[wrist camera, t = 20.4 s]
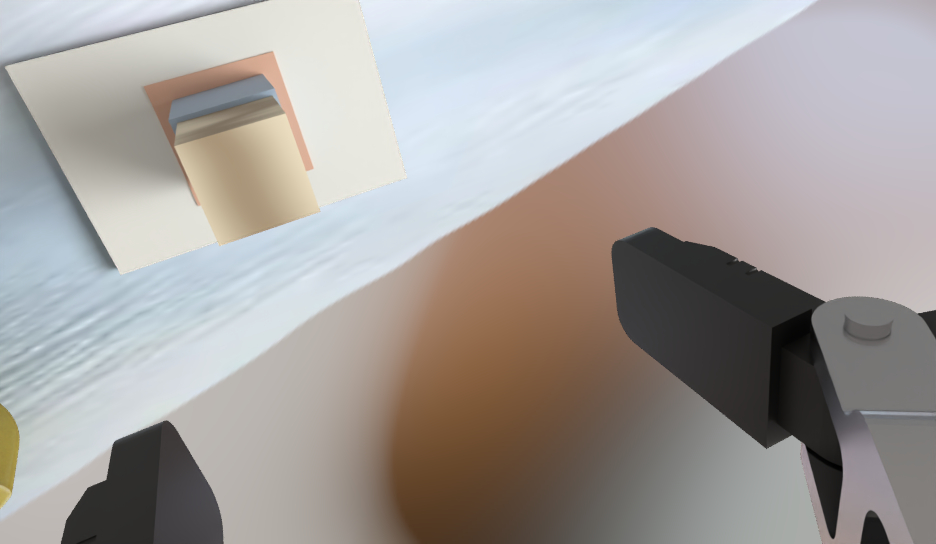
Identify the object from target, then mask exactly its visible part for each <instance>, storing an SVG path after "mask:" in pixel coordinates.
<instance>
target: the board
mask: <svg viewBox="0 0 936 544" xmlns="http://www.w3.org/2000/svg"><path fill="white" fill-rule="evenodd" d="M5 68H6V70H7V72H8V74H9V76H10V77H11V79H12V81H13V83H14V84H15V86H16V88H17V90H18V92H19V93H20V95H21V97H22V99H23V101H24V102H25V104H26V106H27V108H28V110H29V111H30V113H31V115H32V117H33V118H34V120H35V122H36V124H37V126H38V127H39V129H40V131H41V133H42V135H43V136H44V138H45V140H46V142H47V143H48V145H49V147H50V149H51V151H52V152H53V154H54V156H55V158H56V160H57V161H58V163H59V165H60V167H61V169H62V170H63V172H64V174H65V176H66V177H67V179H68V181H69V183H70V185H71V186H72V188H73V190H74V192H75V194H76V195H77V197H78V199H79V201H80V203H81V204H82V206H83V208H84V210H85V211H86V213H87V215H88V217H89V219H90V220H91V222H92V224H93V226H94V228H95V229H96V231H97V233H98V235H99V237H100V238H101V240H102V242H103V244H104V245H105V247H106V249H107V251H108V253H109V254H110V256H111V258H112V260H113V262H114V263H115V265H116V267H117V269H118V270H119V272H120V274H121V275H122V274H125V273H128V272H131V271H134V270H137V269H140V268H143V267H146V266H149V265H152V264H155V263H157V262H160V261H163V260H166V259H169V258H172V257H175V256H178V255H181V254H184V253H187V252H190V251H193V250H196V249H199V248H202V247H205V246H208V245H211V244H214V243H216V242H217V239H216V237H215V235H214V233H213V231H212V228H211V226H210V224H209V222H208V220H207V217H206V215H205V213H204V211H203V209H202V207H201V204H200V202H199V200H198V198H197V196H196V193H195V191H194V189H193V187H192V185H191V182H190V180H189V178H188V176H187V174H186V171H185V169H184V167H183V165H182V163H181V160H180V158H179V156H178V154H177V152H176V149H175V147H174V143H175V133H174V131H173V129H172V127H171V125H170V123H169V121H168V119H169V114H170V109H171V104H172V100H175V99H179V98H182V97H185V96H189V95H192V94H196V93H199V92H202V91H206V90H209V89H213V88H216V87H219V86H223V85H226V84H230V83H233V82H236V81H240V80H243V79H247V78H250V77H253V76H257V75H260V74H263V75H264V76H265V77H266V79H267V80H268V81H269V82H270V83H271V85H272V86H273V87H274V88H275V91H276V94H277V97H278V99H279V102H280V105H281V107H282V109H283V110H284V112H285V113H286V116H287V119H288V121H289V124H290V127H291V130H292V133H293V136H294V138H295V141H296V144H297V147H298V150H299V153H300V155H301V158H302V161H303V164H304V167H305V170H306V172H307V175H308V178H309V181H310V184H311V187H312V189H313V192H314V195H315V198H316V201H317V204H318V206H319V208H320V207H323V206H326V205H329V204H331V203H334V202H337V201H340V200H343V199H346V198H349V197H352V196H355V195H358V194H361V193H364V192H367V191H370V190H373V189H376V188H379V187H382V186H385V185H388V184H390V183H393V182H396V181H399V180H402V179H405V178H407V176H406V172H405V169H404V165H403V161H402V157H401V154H400V150H399V146H398V143H397V139H396V135H395V132H394V128H393V124H392V120H391V117H390V113H389V109H388V106H387V102H386V98H385V95H384V91H383V87H382V83H381V80H380V76H379V72H378V69H377V65H376V61H375V58H374V54H373V50H372V47H371V43H370V39H369V35H368V32H367V28H366V24H365V21H364V17H363V13H362V10H361V6H360V2H359V0H267V1H263V2H259V3H255V4H251V5H247V6H243V7H239V8H235V9H231V10H227V11H223V12H219V13H215V14H211V15H207V16H203V17H199V18H195V19H191V20H187V21H183V22H179V23H175V24H171V25H167V26H163V27H159V28H155V29H151V30H147V31H143V32H138V33H134V34H130V35H126V36H122V37H118V38H114V39H110V40H106V41H102V42H98V43H94V44H90V45H86V46H82V47H78V48H74V49H70V50H66V51H62V52H58V53H54V54H50V55H46V56H42V57H38V58H34V59H30V60H26V61H22V62H18V63H14V64H10V65H7V66H5Z"/></svg>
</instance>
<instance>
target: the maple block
mask: <svg viewBox="0 0 936 544" xmlns="http://www.w3.org/2000/svg"><path fill="white" fill-rule="evenodd" d="M174 147H175V149H176V152H177V154H178V156H179V158H180V160H181V163H182V165H183V167H184V169H185V171H186V174H187V176H188V178H189V180H190V182H191V185H192V187H193V189H194V191H195V193H196V196H197V198H198V200H199V202H200V204H201V207H202V209H203V211H204V213H205V215H206V217H207V220H208V222H209V224H210V226H211V228H212V231H213V233H214V235H215V237H216V239H217V242H218V244H219V246H221V245H224V244H227V243H230V242H233V241H236V240H239V239H242V238H244V237H247V236H250V235H253V234H256V233H259V232H262V231H265V230H268V229H271V228H274V227H277V226H280V225H283V224H286V223H289V222H291V221H294V220H297V219H300V218H303V217H306V216H309V215H312V214H315V213H318V212H320V209H319V206H318V204H317V201H316V198H315V195H314V192H313V189H312V187H311V184H310V181H309V178H308V175H307V172H306V170H305V167H304V164H303V161H302V158H301V155H300V153H299V150H298V147H297V144H296V141H295V138H294V136H293V133H292V130H291V127H290V124H289V121H288V119H287V116H286V113H285V112H284V110H283V109H282V108H281V106H280V105H279V104H278V102H277V101H276V100H275V98H274V97H273V96H269V97H266V98H263V99H259V100H256V101H252V102H249V103H245V104H242V105H238V106H235V107H231V108H228V109H224V110H221V111H217V112H214V113H210V114H207V115H203V116H200V117H196V118H193V119H189V120H186V121H182V122H179V123H177V127H176V135H175V143H174Z"/></svg>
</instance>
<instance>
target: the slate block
mask: <svg viewBox="0 0 936 544" xmlns="http://www.w3.org/2000/svg"><path fill="white" fill-rule="evenodd" d="M269 96H273V97H274V98H275V100H276V101H277V102H278V104H279V105H280V102H279V99H278V97H277V94H276V91H275V88H274V87H273V86H272V85H271V83H270V82H269V81H268V80H267V79H266V77H265V76H264V75H263V74H260V75H257V76H253V77H250V78H247V79H243V80H240V81H236V82H233V83H230V84H226V85H223V86H219V87H216V88H213V89H209V90H206V91H202V92H199V93H196V94H192V95H189V96H185V97H182V98H179V99H175V100H172V104H171V109H170V114H169V119H168V121H169V123H170V125H171V127H172V129H173V131H174V133H175V135H176V127H177V123H179V122H182V121H186V120H189V119H193V118H196V117H200V116H203V115H207V114H210V113H214V112H217V111H221V110H224V109H228V108H231V107H235V106H238V105H242V104H245V103H249V102H252V101H256V100H259V99H263V98H266V97H269ZM280 106H281V105H280ZM281 108H282V107H281Z"/></svg>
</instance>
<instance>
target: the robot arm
mask: <svg viewBox="0 0 936 544" xmlns="http://www.w3.org/2000/svg"><path fill="white" fill-rule="evenodd" d="M612 264H613V273H614V282H615V293H616V302H617V311H618V316H619V320H620V322H621V324H622V327H623V329H624V330H625V332H626V334H627V335H628V337H629V338H630V339H631V340H632V341H633V342H634V343H635V344H637V345H638V346H639V347H640V348H641V349H643V350H644V351H645V352H646V353H648V354H649V355H650V356H651V357H653V358H654V359H655V360H656V361H658V362H659V363H660V364H661V365H663V366H664V367H665V368H666V369H668V370H669V371H670V372H671V373H673V374H674V375H675V376H676V377H678V378H679V379H680V380H681V381H683V382H684V383H685V384H686V385H688V386H689V387H690V388H691V389H693V390H694V391H695V392H696V393H698V394H699V395H700V396H701V397H703V398H704V399H705V400H706V401H708V402H709V403H710V404H711V405H713V406H714V407H715V408H716V409H718V410H719V411H720V412H721V413H723V414H724V415H725V416H726V417H727V418H729V419H730V420H731V421H733V422H734V423H735V424H736V425H737V426H739V427H740V428H741V429H742V430H744V431H745V432H746V433H747V434H749V435H750V436H751V437H752V438H754V439H755V440H756V441H757V442H759V443H760V444H761V445H762V446H764V447H765V448H766V449H767V448H769V447H771V446H772V445H774V444H776V443H778V442H780V441H782V440H784V439H785V438H788V437H789V436H791V435H793V436H794V437H796V438H797V439H798V440H800V441H801V453H800V455H801V461H802V465H803V469H804V473H805V477H806V481H807V485H808V489H809V493H810V497H811V501H812V505H813V509H814V513H815V517H816V521H817V525H818V528H819V532H820V537H821V540H822V544H936V310H934V311H929V312H923V313H918V314H917V313H915V312H914V311H912V310H911V309H909V308H907V307H905V306H903V305H900V304H897V303H895V302H892V301H888V300H884V299H879V298H872V297H844V298H838V299H834V300H831V301H828V302H825V301H823V300H821V299H819V298H816V297H814V296H812V295H810V294H808V293H806V292H804V291H802V290H800V289H798V288H796V287H794V286H792V285H790V284H788V283H786V282H784V281H782V280H780V279H778V278H776V277H774V276H772V275H770V274H768V273H766V272H764V271H762V270H761V271H757V268H756V267H754V266H752V265H750V264H748V263H746V262H744V261H741V262H739V261H738V258H736V257H734V256H732V255H729V254H728V253H725V252H724V251H721V250H720V249H717V248H715V247H712V246H707V245H702V244H697V243H692V242H688V241H685V242H683V241H681V240H679V239H677V238H674V237H673V236H671V235H669V234H667V233H665V232H663V231H661V230H659V229H657V228H653V227H651V228H647V229H645V230H643V231H640V232H638V233H635V234H633V235H630V236H628V237H625V238H623V239H620V240H618V241H616V242H615V243H614V244H613V246H612ZM61 544H223V526H222V519H221V515H220V510H219V507H218V504H217V501H216V499H215V496H214V494H213V492H212V489H211V487H210V486H209V484H208V482H207V481H206V479H205V477H204V476H203V474H202V472H201V470H200V469H199V467H198V465H197V464H196V462H195V460H194V459H193V457H192V455H191V454H190V452H189V450H188V449H187V447H186V445H185V444H184V442H183V440H182V439H181V437H180V435H179V433H178V432H177V430H176V429H175V427H174V426H173V425H172V424H171V423H170V422H169V421H163V422H161V423H158V424H156V425H153V426H151V427H148V428H146V429H143V430H141V431H138V432H136V433H133V434H131V435H128V436H126V437H123V438H121V439H118V440H116V441H115V442H114V444H113V447H112V452H111V457H110V463H109V469H108V474H107V480H105V481H103V482H100V483H98V484H96V485H93V486H91V487H89V488H87V490H86V491H85V493H84V494H83V496H82V497H81V499H80V501H79V502H78V503H77V505H76V506H75V508H74V510H73V511H72V513H71V514H70V516H69V517H68V519H67V520H66V524H65V529H64V533H63V537H62V541H61Z"/></svg>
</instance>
